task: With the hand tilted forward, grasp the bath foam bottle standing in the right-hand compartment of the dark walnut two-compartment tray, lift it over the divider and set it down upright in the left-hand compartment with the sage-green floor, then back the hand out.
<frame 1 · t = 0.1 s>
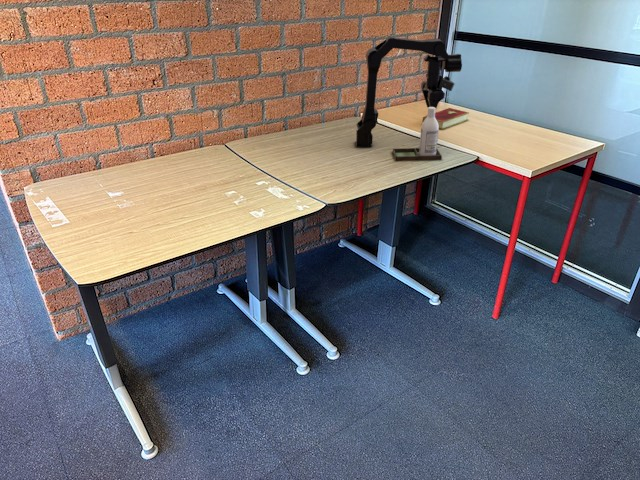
hand: (430, 110, 207), 15 cm above the table, tool pointing down, fingers open, 9 cm apart
hardcover book: (445, 122, 239), on the table
tray: (416, 156, 201), on the table
bath foam: (427, 156, 201), resting in tray
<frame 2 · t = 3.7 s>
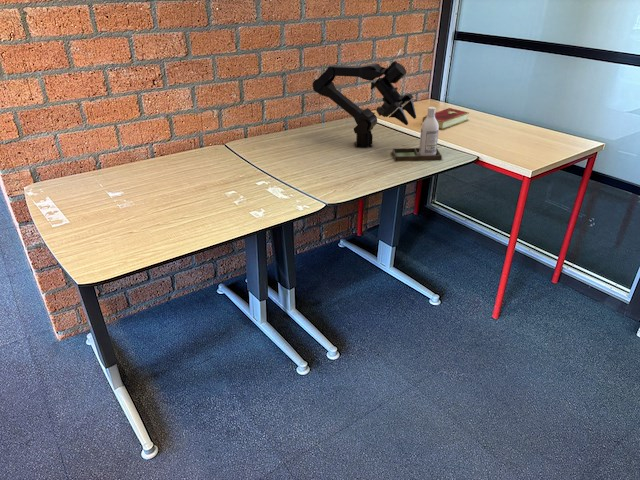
hand: (411, 121, 198), 13 cm above the table, tool tilted 45°, fingers open, 9 cm apart
nothing on the table moved.
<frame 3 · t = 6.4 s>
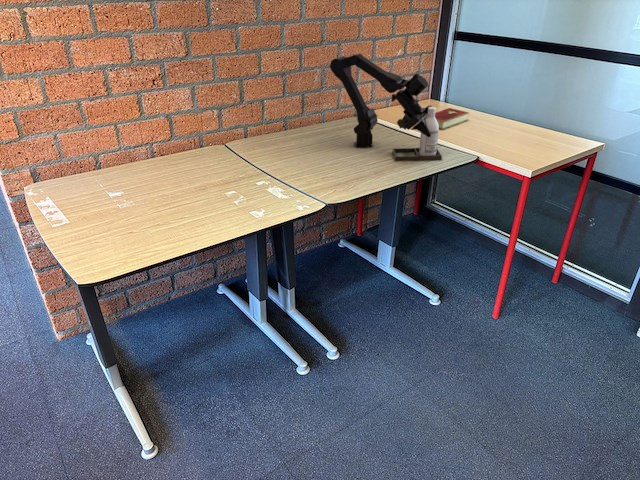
hand: (432, 133, 196), 10 cm above the table, tool tilted 45°, fingers closed on bath foam, 7 cm apart
bath foam: (427, 156, 201), resting in tray, touching gripper
everything else where it was.
when the fingers open (10 cm above the table, at t = 11.7 s): bath foam stays where it is, resting on tray.
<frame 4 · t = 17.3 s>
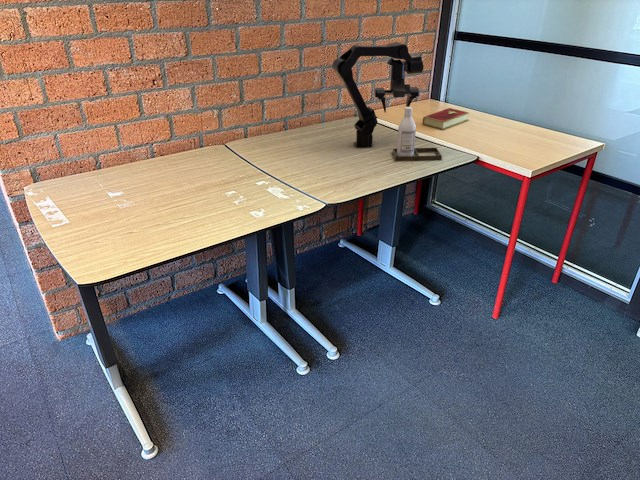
hand: (395, 112, 211), 13 cm above the table, tool pointing down, fingers open, 9 cm apart
bath foam: (405, 156, 201), resting on tray
everything else where it was.
at the end: bath foam 0.3 cm from the target spot on the tray, point 0.0 cm above the tray's base; bath foam tilted 0°; the gripper is holding nothing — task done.
